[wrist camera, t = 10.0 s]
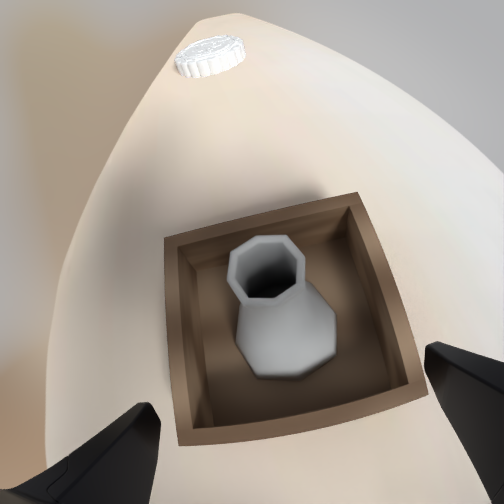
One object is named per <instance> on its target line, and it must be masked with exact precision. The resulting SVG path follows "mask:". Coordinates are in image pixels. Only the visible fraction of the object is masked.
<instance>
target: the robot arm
mask: <svg viewBox="0 0 504 504" xmlns="http://www.w3.org/2000/svg"><path fill="white" fill-rule="evenodd" d="M424 369H425V372H426V375H427V377H428V379H429V381H430V383H431V385H432V388H433V390H434V392H435V394H436V397H437V399H438V401H439V403H440V406H441V408H442V409H443V411H444V413H445V415H446V416H447V418H448V420H449V422H450V423H451V425H452V427H453V429H454V430H455V432H456V434H457V436H458V438H459V439H460V441H461V443H462V445H463V447H464V449H465V450H466V452H467V454H468V456H469V458H470V460H471V462H472V464H473V465H474V467H475V469H476V471H477V473H478V475H479V477H480V479H481V481H482V483H483V485H484V487H485V489H486V492H487V494H488V496H489V498H490V500H491V503H492V504H504V362H501V361H498V360H494V359H491V358H488V357H485V356H482V355H478V354H475V353H472V352H469V351H466V350H463V349H460V348H457V347H454V346H451V345H448V344H444V343H441V342H438V341H436V342H433V343H431V344H428V345H427V346H426V348H425V360H424ZM160 430H161V421H160V419H159V417H158V415H157V413H156V412H155V410H154V408H153V406H152V405H151V404H150V403H149V402H140V403H137V404H136V405H135V406H133V407H132V408H131V409H129V410H128V411H127V412H126V413H124V414H123V415H122V416H120V417H119V418H118V419H116V420H115V421H114V422H112V423H111V424H110V425H109V426H107V427H106V428H105V429H103V430H102V431H101V432H99V433H98V434H97V435H95V436H94V437H93V438H91V439H90V440H88V441H87V442H86V443H84V444H83V445H82V446H80V447H79V448H78V449H76V450H75V451H73V452H72V453H71V454H69V456H66V457H65V458H64V459H62V460H61V461H59V462H58V463H56V464H55V465H53V466H52V467H50V468H49V469H47V470H45V471H44V472H42V473H40V474H39V475H37V476H35V477H33V478H32V479H30V480H28V481H26V482H24V483H22V484H21V485H19V486H17V487H14V488H11V489H3V490H2V489H0V504H149V500H150V495H151V490H152V485H153V480H154V475H155V471H156V466H157V460H158V450H159V440H160Z"/></svg>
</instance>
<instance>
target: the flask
mask: <svg viewBox="0 0 504 504" xmlns="http://www.w3.org/2000/svg"><path fill="white" fill-rule="evenodd" d="M227 282H228V283H229V285H230V287H231V288H232V290H233V291H234V293H235V294H236V296H237V297H238V299H239V300H240V302H241V303H240V306H239V314H238V323H237V332H236V342H235V345H236V347H237V348H238V350H239V352H240V353H241V355H242V356H243V358H244V359H245V361H246V363H247V364H248V366H249V367H250V369H251V370H252V372H253V373H254V375H255V377H256V378H257V379H268V380H292V381H301V380H302V379H304V378H305V377H307V376H308V375H310V374H311V373H313V372H314V371H316V370H317V369H318V368H320V367H321V366H323V365H324V364H325V363H327V362H328V361H330V360H331V359H332V358H334V357H335V356H336V353H337V314H336V313H335V312H334V310H333V309H332V308H331V307H330V305H329V304H328V303H327V302H326V300H325V299H324V298H323V297H322V295H321V294H320V293H319V292H318V290H317V289H316V288H315V287H314V285H313V284H311V283H310V282H307V281H305V256H304V255H303V254H302V252H301V251H300V250H299V249H298V248H297V247H296V245H295V244H294V243H293V242H292V241H291V240H290V238H289V237H288V236H287V235H256V236H254V237H253V238H251V239H250V240H248V241H247V242H245V243H243V244H242V245H240V246H239V247H237V248H235V249H234V250H232V251H231V252H230V258H229V266H228V273H227Z"/></svg>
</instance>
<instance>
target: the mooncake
mask: <svg viewBox="0 0 504 504" xmlns="http://www.w3.org/2000/svg"><path fill="white" fill-rule="evenodd" d="M245 57H246V52H245V48H244V43H243V40H242V39H240V38H239V37H234V36H228V35H224V36H215V37H211V38H208V39H203V40H198V41H197V42H195V43H192V44H190V45H189V46H187V47H186V48H185V49H183V50H181V51H180V52H179V53H178V54H177V55H176V58H175V60H174V61H175V63H176V66H177V68H178V71H179V73H180V75H181V76H185V77H186V78H189V77H192V78H198V77H200V76H201V77H206V76H209V75H215V74H218V73H220V72H221V71H227V70H229V69H230V68H231V67H235V66H237V65H238V64H239V63H240V62H242V61H243V60H244V58H245Z"/></svg>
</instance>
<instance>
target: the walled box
mask: <svg viewBox="0 0 504 504" xmlns="http://www.w3.org/2000/svg"><path fill="white" fill-rule="evenodd" d="M256 235H287V236H288V237H289V238H290V240H291V241H292V242H293V243H294V244H295V245H296V247H297V248H298V249H299V250H300V251H301V252H302V254H303V255H304V256H305V281H307V282H310V283H311V284H313V285H314V287H315V288H316V289H317V290H318V292H319V293H320V294H321V295H322V297H323V298H324V299H325V300H326V302H327V303H328V304H329V305H330V307H331V308H332V309H333V310H334V312H335V313H336V314H337V353H336V356H335V357H334V358H332V359H331V360H330V361H328V362H327V363H325V364H324V365H323V366H321V367H320V368H318V369H317V370H316V371H314V372H313V373H311V374H310V375H308V376H307V377H305V378H304V379H302V380H301V381H292V380H268V379H257V378H256V377H255V375H254V373H253V372H252V370H251V369H250V367H249V366H248V364H247V363H246V361H245V359H244V358H243V356H242V355H241V353H240V352H239V350H238V348H237V347H236V345H235V342H236V332H237V323H238V314H239V306H240V303H241V302H240V300H239V299H238V297H237V296H236V294H235V293H234V291H233V290H232V288H231V287H230V285H229V283H228V282H227V273H228V266H229V258H230V252H231V251H232V250H234V249H235V248H237V247H239V246H240V245H242V244H243V243H245V242H247V241H248V240H250V239H251V238H253V237H254V236H256ZM164 275H165V306H166V326H167V342H168V356H169V368H170V379H171V389H172V398H173V407H174V415H175V423H176V430H177V437H178V444H179V446H197V445H213V444H225V443H236V442H245V441H253V440H260V439H267V438H274V437H280V436H285V435H291V434H296V433H301V432H306V431H311V430H316V429H320V428H325V427H329V426H333V425H337V424H341V423H345V422H348V421H352V420H356V419H359V418H363V417H366V416H369V415H373V414H376V413H379V412H382V411H385V410H388V409H391V408H394V407H397V406H400V405H402V404H405V403H408V402H411V401H413V400H416V399H419V398H421V397H424V396H426V395H429V394H428V389H427V385H426V381H425V377H424V373H423V369H422V365H421V362H420V358H419V354H418V351H417V347H416V344H415V340H414V337H413V334H412V330H411V327H410V324H409V321H408V318H407V315H406V312H405V309H404V306H403V303H402V300H401V297H400V294H399V291H398V288H397V285H396V283H395V280H394V277H393V275H392V272H391V269H390V267H389V264H388V261H387V259H386V256H385V254H384V251H383V249H382V246H381V244H380V241H379V239H378V237H377V234H376V232H375V229H374V227H373V225H372V223H371V220H370V218H369V216H368V213H367V211H366V209H365V207H364V205H363V202H362V200H361V198H360V196H359V194H358V192H354V193H350V194H345V195H340V196H335V197H331V198H326V199H322V200H317V201H313V202H308V203H304V204H299V205H295V206H290V207H286V208H282V209H277V210H273V211H269V212H265V213H260V214H256V215H252V216H248V217H244V218H240V219H236V220H232V221H227V222H223V223H219V224H215V225H212V226H208V227H204V228H200V229H196V230H192V231H188V232H184V233H180V234H177V235H173V236H169V237H165V238H164Z"/></svg>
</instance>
